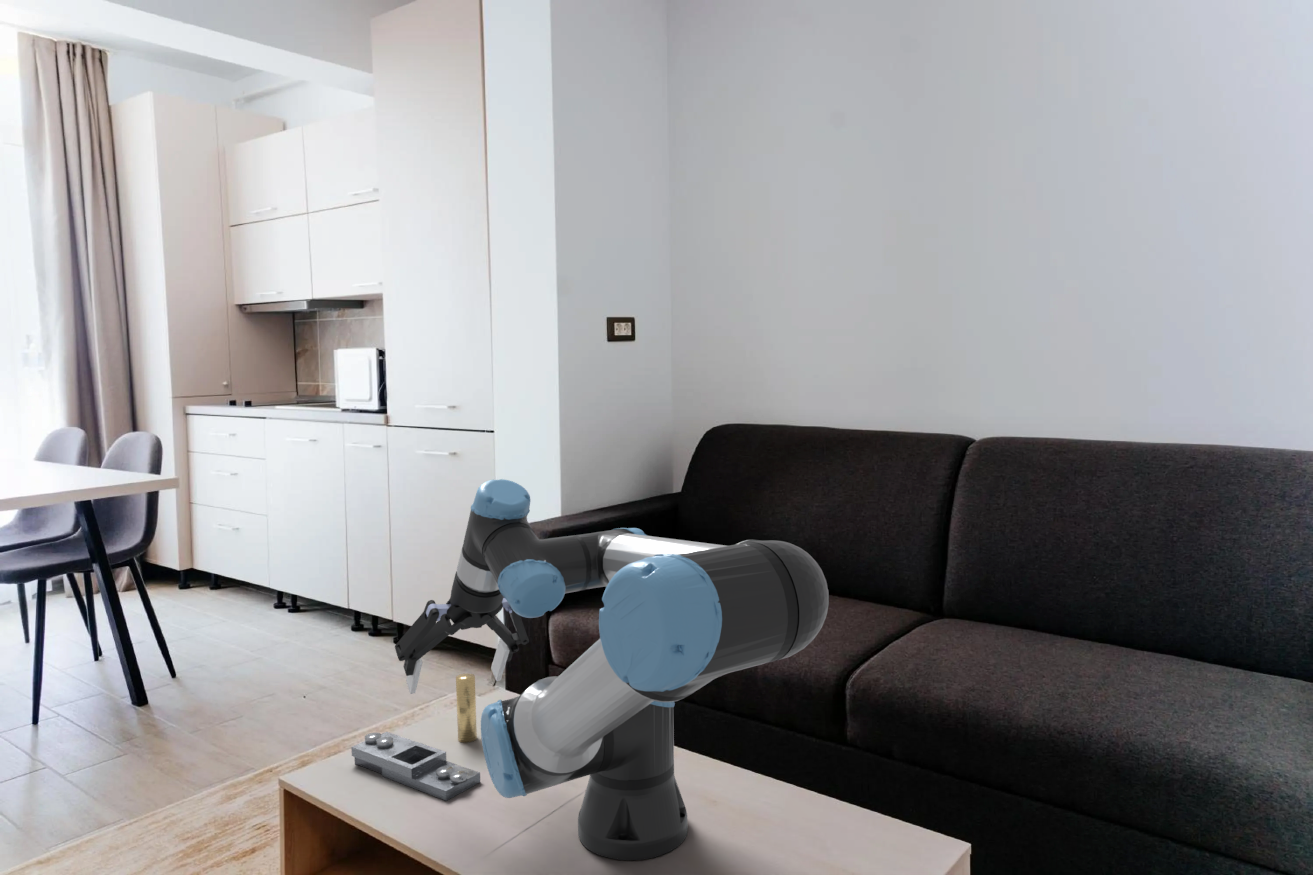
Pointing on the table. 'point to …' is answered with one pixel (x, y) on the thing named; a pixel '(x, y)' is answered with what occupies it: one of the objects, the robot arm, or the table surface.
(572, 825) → the table surface
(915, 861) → the table surface
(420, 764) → the riveted socket plate
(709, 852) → the table surface
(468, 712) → the pin
